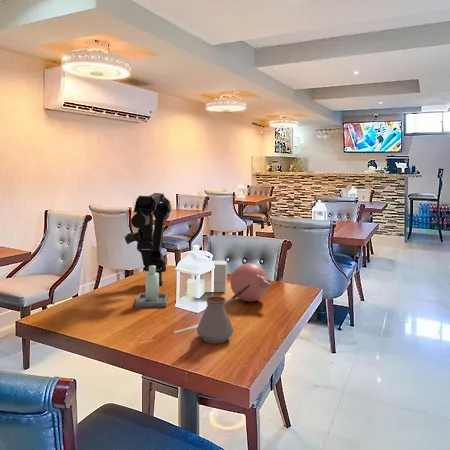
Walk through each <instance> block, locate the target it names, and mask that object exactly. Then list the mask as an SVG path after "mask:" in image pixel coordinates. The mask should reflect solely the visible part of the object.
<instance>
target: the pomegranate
mask: <svg viewBox="0 0 450 450" xmlns="http://www.w3.org/2000/svg"><path fill="white" fill-rule="evenodd" d="M271 281H272V280H271V279H270V278H269V277H268V274H267V273H266V271H265V269H264V268H262V267H261V266H260V265H258V264H255V263H251V262H247V263H243V264H241V265H239V266H238V267H236V268H235V269H234V271H233V272H232V274H231V276H230V288H231V291H232V292H233V294H234V295H235V294H236V293H237V292H239V291H240V290H242V289H243V288H244V287H246V286H247V285H249V284H250V285H251V286H252V287H253V289H252V287H251V286H250V287H249V288H250V289H252V290H250V289H249V288H247V290H245V291H244V292H243V293H242V294H241V295H239V296H238V297H237V298H238V299H240V300H241V301H244V302H247V301H248V302H249V303H250V302H251V303H252V302H256V301H258V300H260V299H261V298H263V297H264V296H265V295H266V293H267V291H268V289H269V288H270V287H272V285H273V283H272V282H271Z"/></svg>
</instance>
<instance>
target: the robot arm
mask: <svg viewBox="0 0 450 450" xmlns="http://www.w3.org/2000/svg"><path fill="white" fill-rule="evenodd" d="M171 205H172V204H171V202H170V200H169V199H168V198H166V196H165V194H164V193H162V192H161V193H160V192H153V193H152V194H150V195H139V196H138V197H137V198H136V200H135V205H134V209H133V213H135V214H134V215H132V217H131V225H132V226H133V227H134V228H135V229H137V231H136V232H133V233H132V232H129V233H127V234H126V235H125V236H124V241H125V242H126V244H127V245H129V244H131V243H133V242H136V241H137V243H136V249H137V252H139V253H141V259H142V264H143V266H144V272H149V266H151V265H154V266H156V272H157V273H159V287H160V286H161V287H163V283H164V280H162V279H163V278H162V277H163V273H164V272H166V271H167V264H166V261H165V259H164V258H165V257H164V255H163V253H162V245H163V238H164V232H165V231H164V230H165V223H166V221H167V220H168V219H169V217H170V214H171V212H172V206H171Z"/></svg>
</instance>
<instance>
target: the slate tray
mask: <svg viewBox="0 0 450 450" xmlns="http://www.w3.org/2000/svg"><path fill="white" fill-rule="evenodd" d="M168 295H169V294H168V293H159V301H158V302H146V301H145V293H138V296H137V298H136V299H135V302H134V308H166V307H167V302H168V297H169V296H168Z"/></svg>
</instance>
